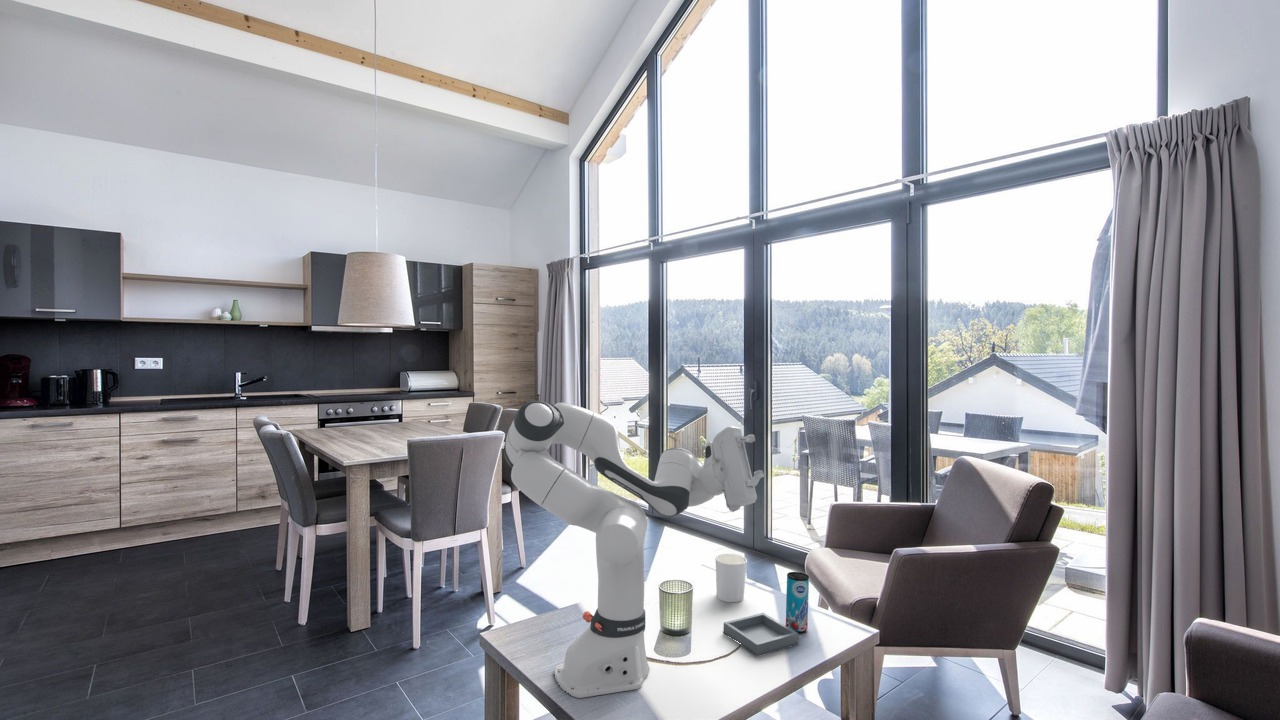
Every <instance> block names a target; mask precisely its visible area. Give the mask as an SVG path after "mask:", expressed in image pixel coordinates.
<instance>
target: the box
mask: <svg viewBox="0 0 1280 720" xmlns="http://www.w3.org/2000/svg"><path fill="white" fill-rule="evenodd" d="M722 633H724V635H725V636H726V635H727V637H728V636H729V637H731V638H732V639H734V640H736V641H738V642H739V643H741V645H742V646H741V645H740V646H741V647H742V648H744V649H745V650H747V651H749V653H751V654H752V655H754V656H756V657H761V656H764V655H767V654H771V653H774V652H777V651H782V650H784V649H788V647H789V648H791V647H790V646H792V647H795V646H798V645H799V637H800V636H799V635H800V633H797V632H796V631H794V630H792V629H790V628H789V627H787V626H786V624H784V623H782V622H780V621H778V620H776V619H775V618H774V617H772V616H770V615H768V614H767V613H764V612H761V613H757V614H752V615H749V616H746V617H740V618H737V619H732V620H729V621H725V622H723V631H722ZM729 637H728V638H729ZM731 638H730V639H731ZM732 639H731V640H732ZM734 640H733V641H734ZM797 644H798V645H797ZM794 645H795V646H794Z"/></svg>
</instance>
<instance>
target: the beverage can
mask: <svg viewBox="0 0 1280 720" xmlns="http://www.w3.org/2000/svg"><path fill="white" fill-rule="evenodd" d="M786 576H787V577H786V598H785V626H787V627H789V628H790V629H792V630H794V631H796V632H797V633H799V634H803V633H802V632H804V633H806V632H807V630H808V622H809V619H808V618H809V596H810V595H809V590H810V588H809V587H810V586H809V585H810V576H809V575H808V574H807V573H804V572H801V571H789V572H788V573H787V574H786ZM805 631H806V632H805Z"/></svg>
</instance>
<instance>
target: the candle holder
mask: <svg viewBox="0 0 1280 720" xmlns="http://www.w3.org/2000/svg"><path fill="white" fill-rule="evenodd" d="M714 558H715V559H714V561H715V577H716V578H715V580H716V581H715V585H716V586H715V587H716V589H715V590H716V597H717V599H719V600H720V601H723V602H727V603H739V602H742V600H743V599H744V598H745V597H744V596H745V585H746V573H747V563H748V559H747V558H746V557H745V556H742V555H740V554H736V553H721V554H718V555H717V556H715V557H714Z"/></svg>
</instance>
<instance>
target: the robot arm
mask: <svg viewBox="0 0 1280 720" xmlns="http://www.w3.org/2000/svg"><path fill="white" fill-rule="evenodd" d="M755 441H756V437H755V435H754V434H752V433H751V434H750V433H749V434H748V435H746V436H744V435H743V432H742V429H741V428H740V427H737V426H733V425H731V426H730V425H729V426H727V427H725V428H724V429H722V430H720V431H719V432H718V433H717V434H716V435H715V436H714V437H713V439H712V441H707V442H706V443H705V444H704V445H705V447H704V460H703V463H702V461H701V460H700V459H699V458H697V457H696V455H694V454H693V453H692V452H691V451H689V450H688V449H686V448H683V447H671V448H667V449H666V450H664V451H663V452H661V454H660V457H659V461H658V463H657V464H658V465H657V469H656V473H655V475H654V476H655V477H654V480H651V479H650V478H648V477H647V476H644V475H643V474H641V473H640V472H638V471H636V470H635V469H633V468H631V467H630V466H629V465H627V463H626V461H624V458H623V456H622V452H621V446H620V445H621V444H620V436H619V432H618V429H617V426H616V425H615V423H614V422H613V421H612V420H611V419H610V418H608V417H606V416H605V415H602V414H600V413H598V412H596V411H593V410H590V409H587V408H584V407H582V406H579V405H576V404H571V403H566V402H556V403H555V404H552V403H548V402H545V401H540V400H531V401H527V402H525V403H524V404H523V403H522V405H521V406H520V407H519V408H518V410H517V411H516V413H515V414H514V418H513V421H512V422H511V425H510V426H509V428H508V431H507V434H506V439H505V442H504V445H503V455H504V459H505V461H506V462H507V464H508V466H509V467H511V473H510V479H511V482H512V483H513V484H514V486H515V487H516V488H517V489H518V490H519V491H520V492H521V493H522V494H524V495H525V497H528V499H530V500H531V501H532V502H534V503H535V504H536V505H538V506H540V507H541V508H542V509H545V510H546V511H547V512H548V513H550V514H552V515H554V516H555V517H557V518H558V519H559V520H561V521H563V522H564V523H565V524H568V525H571V526H576V527H579V528H582V529H585V530H588V531H590V532H592V533H595V555H596V556H595V557H596V568H597V579H598V580H597V581H598V582H597V585H598V586H597V607H596V608H597V609H596V610H595V612H594V615H593V614H592V613H591V612H590V611H585V612H584V613H582V619H583V620H584V621H585V622H586V623H590V624H589V627H588V628H587V629H586V630H585V631H583V633H582V634H580V636H578V638H576V639H575V640H574V641H573V642H572V643H570V644H569V645H568V647H567V648H566V649H567V650H566V652H565V655H564V662H562V663H560V664H558V665H556V666H555V668H554V673H553V674H554V675H555V676H554V679H555V681H556V682H558V683H557V684H558V686H559V685H560V686H559V687H560V688H561V690H563V691H564V692H565V691H566V692H565V693H566V694H568V693H569V694H568V695H570V694H571V695H570V696H572V697H574V698H577V699H578V698H579V699H581V698H582V699H583V698H588V697H594V696H595V697H596V696H601V695H607V694H614V693H619V692H626V691H632V690H638V689H639V690H640V688H642V686H643V681H644V680H645V678H646V677H647V676H648V675H649V673H650V666H649V663H648V659H647V658H648V657H647V653H646V644H645V630H646V610H645V566H644V565H645V564H644V555H645V553H644V547H645V545H644V544H645V538H646V532H647V529H648V518H647V515H646V513H645V510H644V509H643V508H642V506H641V505H640V504H639V503H637V502H636V501H633V500H630V499H627V498H624V497H623V496H621V495H618V494H617V493H614V492H613V491H610V490H608V489H605V488H603V487H601V486H599V485H596V484H595V483H593V482H591V481H590V480H588V479H587V478H585V477H584V476H582V475H580V474H579V473H577V472H575V471H573V470H572V469H571V468H569V467H568V466H566V465H565V464H562V463H561V462H559V461H557V460H556V459H554V458H553V456H552V455H550V452H549V451H548V450H549V448H550V447H551V446H552V445H555V444H556V445H565V446H566V447H568V448H570V449H572V450H575V451H577V452H579V453H581V454H583V455H585V456H586V457H587V458H588V459H589V460H590V461H591V462H592V463H593V465H594V468H595V470H596V471H597V473H599V474H600V475H601V476H603V477H604V478H606V479H607V480H609V481H611V482H612V483H614V484H615V485H617V486H618V487H620V488H622V489H624V490H625V491H626V492H629V493H630V494H632V495H633V496H635V497H637V498H638V499H640V500H642V501H643V502H645V503H646V504H648V506H649V507H650V508H652V509H653V510H655V511H656V512H657V513H658V514H661V515H663V516H665V517H674V516H677V515H680V514H681V513H683V512H685V511H686V510H687V509H688V507H689V508H690V507H697V506H699V505H700V506H701V505H703V504H705V503H706V502H709V501H711V500H712V499H713V498H715V496H720V495H723V496H724V500H725V504H726V509H728V510H729V511H730V512H732V513H734V512H737V511H739V510H740V509H741V507H744V506H749V505H752V504H754V503H756V501H757V500H758V495H757V492H756V486H758V484H759V483H760V482H759V481H760V480H761V479H762V478H764V477H765V474H764V471H763V470H761V469H758V470H756V471H754V472H753V475H752V470H751V466H750V462H749V458H748V454H747V449H746V444H745V443H749V444H752V443H754V442H755Z"/></svg>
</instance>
